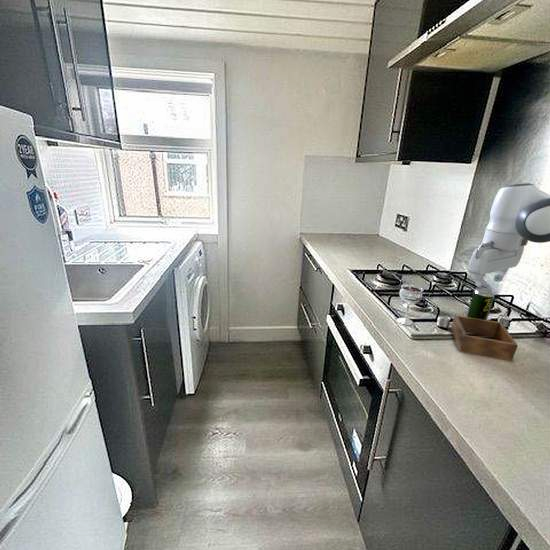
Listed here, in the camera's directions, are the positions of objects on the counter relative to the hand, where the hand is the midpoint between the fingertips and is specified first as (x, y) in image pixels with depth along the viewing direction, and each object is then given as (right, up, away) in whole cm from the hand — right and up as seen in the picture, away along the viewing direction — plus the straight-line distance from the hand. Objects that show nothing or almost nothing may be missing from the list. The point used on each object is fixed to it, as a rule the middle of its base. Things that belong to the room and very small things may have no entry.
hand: (488, 283), depth 94 cm
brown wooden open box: (-7, -18, -6) cm, 20 cm away
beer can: (-1, -14, +5) cm, 15 cm away
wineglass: (-24, -13, +6) cm, 27 cm away
